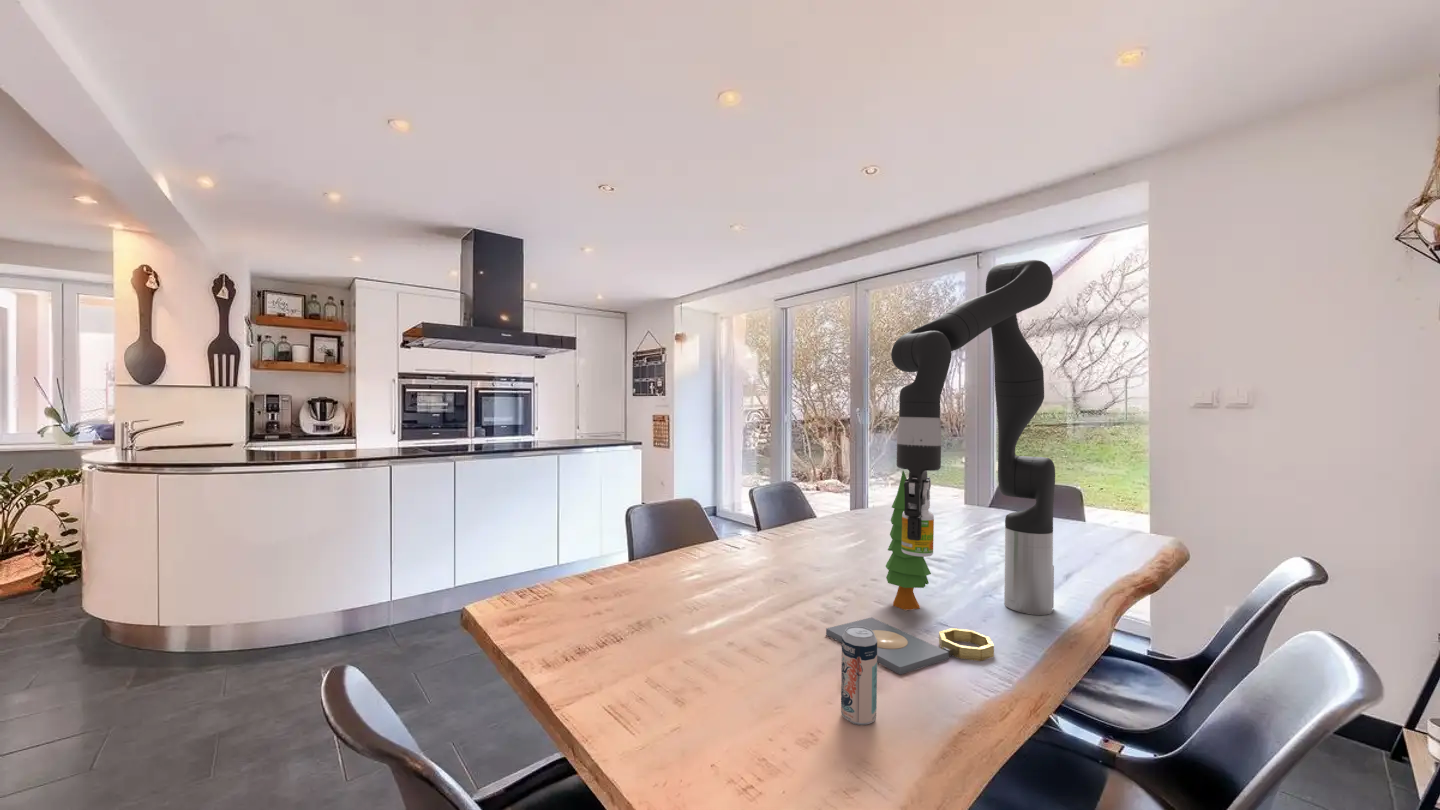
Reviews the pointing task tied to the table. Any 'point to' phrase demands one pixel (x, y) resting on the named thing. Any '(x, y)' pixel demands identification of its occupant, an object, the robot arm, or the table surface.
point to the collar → (966, 651)
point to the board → (895, 646)
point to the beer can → (859, 675)
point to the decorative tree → (904, 560)
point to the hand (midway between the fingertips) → (916, 536)
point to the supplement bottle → (927, 534)
